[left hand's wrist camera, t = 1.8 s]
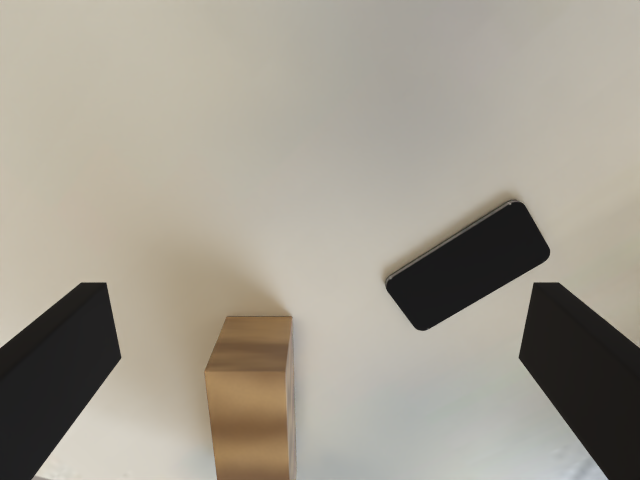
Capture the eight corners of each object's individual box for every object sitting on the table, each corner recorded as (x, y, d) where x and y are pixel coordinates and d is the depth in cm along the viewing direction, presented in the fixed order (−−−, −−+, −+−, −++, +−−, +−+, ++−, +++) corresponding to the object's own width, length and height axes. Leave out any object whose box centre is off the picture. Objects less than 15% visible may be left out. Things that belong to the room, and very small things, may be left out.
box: (226, 316, 43) (204, 371, 34) (292, 316, 43) (285, 371, 34) (240, 471, 50) (224, 547, 42) (296, 471, 50) (291, 547, 42)
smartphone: (381, 283, 40) (520, 196, 37) (380, 280, 41) (516, 195, 38) (420, 335, 42) (554, 256, 39) (418, 331, 43) (550, 254, 40)
